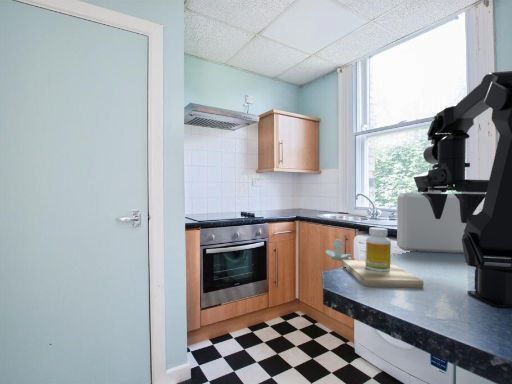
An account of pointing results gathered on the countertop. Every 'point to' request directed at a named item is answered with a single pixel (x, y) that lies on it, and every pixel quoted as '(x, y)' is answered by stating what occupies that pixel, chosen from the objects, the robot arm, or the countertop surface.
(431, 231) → the bevelled white case
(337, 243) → the pacifier
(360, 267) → the birch board
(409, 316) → the countertop surface
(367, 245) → the supplement bottle
